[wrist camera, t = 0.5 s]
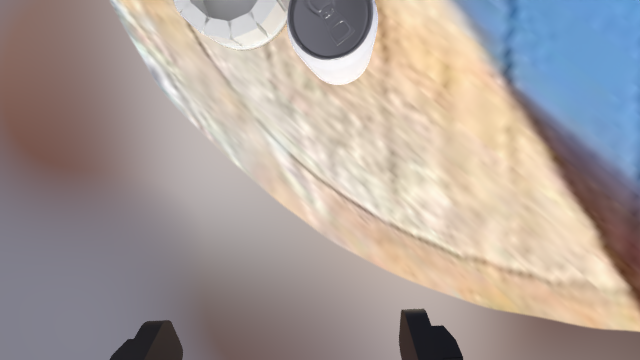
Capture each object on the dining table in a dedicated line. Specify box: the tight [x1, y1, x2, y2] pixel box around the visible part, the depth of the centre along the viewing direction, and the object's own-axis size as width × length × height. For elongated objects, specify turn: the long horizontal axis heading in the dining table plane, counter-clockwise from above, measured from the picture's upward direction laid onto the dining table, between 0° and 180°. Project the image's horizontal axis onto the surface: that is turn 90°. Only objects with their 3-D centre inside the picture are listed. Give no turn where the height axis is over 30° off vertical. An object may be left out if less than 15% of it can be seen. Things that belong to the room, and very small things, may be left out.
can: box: [287, 0, 378, 85], centre depth 26 cm, size 6×6×12 cm
